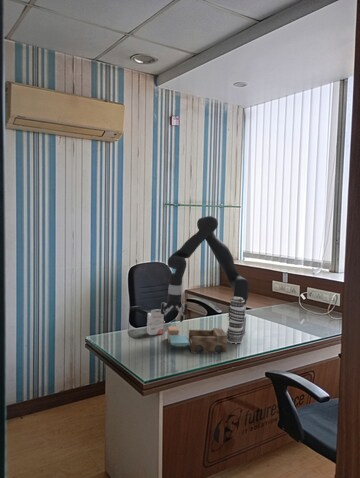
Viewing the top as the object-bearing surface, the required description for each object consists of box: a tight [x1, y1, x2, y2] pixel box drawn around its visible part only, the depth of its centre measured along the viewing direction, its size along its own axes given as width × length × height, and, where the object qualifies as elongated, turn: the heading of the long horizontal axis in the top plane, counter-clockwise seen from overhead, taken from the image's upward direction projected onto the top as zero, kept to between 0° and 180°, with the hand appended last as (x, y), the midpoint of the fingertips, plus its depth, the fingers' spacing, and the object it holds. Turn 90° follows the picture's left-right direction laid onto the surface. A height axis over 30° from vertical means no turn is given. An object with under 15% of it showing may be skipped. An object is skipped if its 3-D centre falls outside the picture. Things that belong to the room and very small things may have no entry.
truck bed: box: [188, 327, 228, 354], centre depth 211 cm, size 18×14×9 cm
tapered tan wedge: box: [166, 326, 179, 344], centre depth 220 cm, size 5×7×7 cm
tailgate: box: [169, 334, 190, 347], centre depth 210 cm, size 2×12×10 cm
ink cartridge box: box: [146, 308, 165, 336], centre depth 231 cm, size 9×5×15 cm, turn 117°
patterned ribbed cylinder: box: [226, 296, 246, 345], centre depth 224 cm, size 9×9×25 cm
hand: (173, 321), depth 220 cm, fingers open, 8 cm apart
